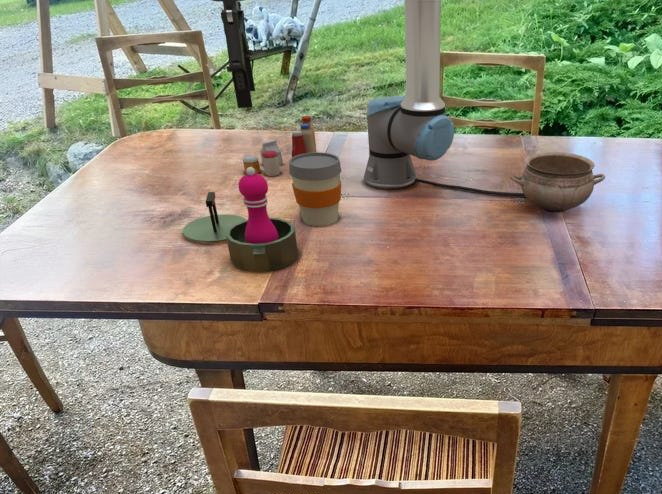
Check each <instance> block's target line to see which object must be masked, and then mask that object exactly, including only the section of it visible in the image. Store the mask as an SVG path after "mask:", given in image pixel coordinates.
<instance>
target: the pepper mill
mask: <svg viewBox="0 0 662 494" xmlns="http://www.w3.org/2000/svg"><path fill="white" fill-rule="evenodd" d="M246 172H247V174H244V175H243V176H242V177H241V178H239V180H238V191H239V193H240V194H241V195H242V197H243V199H242V200H243V205H244V206H245V207H246V209H247V215H248V216H247V220H248V222H247V226H246V229H245V241H246V243H252V244H256V243H267V242H271V241H276V240H278V238H279V237H278V232H277V230H276V228H275V226H274V225H273V223H272V222H271V220H270V219H269V217H270V216H269V214H268V210H267V205H268V204H269V200H268V196H267V193H268V191H269V184H268V181H267V179H266V178H265V177H264V176H263V175H261V174H259V173H258V174H255V169H254V168H253V167H248V168H247V170H246Z"/></svg>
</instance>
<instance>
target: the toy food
mask: <svg viewBox="0 0 662 494" xmlns="http://www.w3.org/2000/svg"><path fill="white" fill-rule="evenodd" d="M311 120H312V117H311V116H310V115H303V116H301V121H302V122H301V124H300V125H299V127H300V129H299V130H293V131H292V132H291V134H292V135H291V158H292V157H294V156H297V155H300V154H305V153H314V152H317V143H316V133H315V130H314V129H313V128H312V123H311ZM261 144H262V147H261V150H260V158H261V159H260V160H261V165H262V166H263V170H264V175H266V176H267V177H276V176H279V175H280V174H281V168H280V166H282V165H283V157H282V151H281V149H280V147H279V146H278V143H277V140H276V139H272V140H267V141H264V142H262V143H261ZM260 160H259V158H258V156H256V155H247V156H244V157H243V158H242V164H243V169H244V173H245V175H247V172H246V170H247V168H248V167H253V168H254V169H255V174H259V173H261V167H260Z"/></svg>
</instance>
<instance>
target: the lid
mask: <svg viewBox="0 0 662 494" xmlns="http://www.w3.org/2000/svg"><path fill="white" fill-rule="evenodd" d="M215 200H216V193H215V191H208V192H207V196H206V198H205V201H204V202H205V206H206V208H207V209H208V212H209V215H207V216H202V217H198V218H195V219H194V220H191V221H190V222H188V223H187V224H185V225H184V227H183V228H182V234H183V237H184V238H186V239H187V240H189V241H191V242H195V243H201V244H216V243H223V242H227V239H226V233H227V230H228V229H229V228H230V227H231V226H232V225H234V224H236V223H239V222H241V221H244V220H248V218H245V217H243V216H240V215H235V214H223V213H222V214H218V210H217V205H216V201H215Z"/></svg>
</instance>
